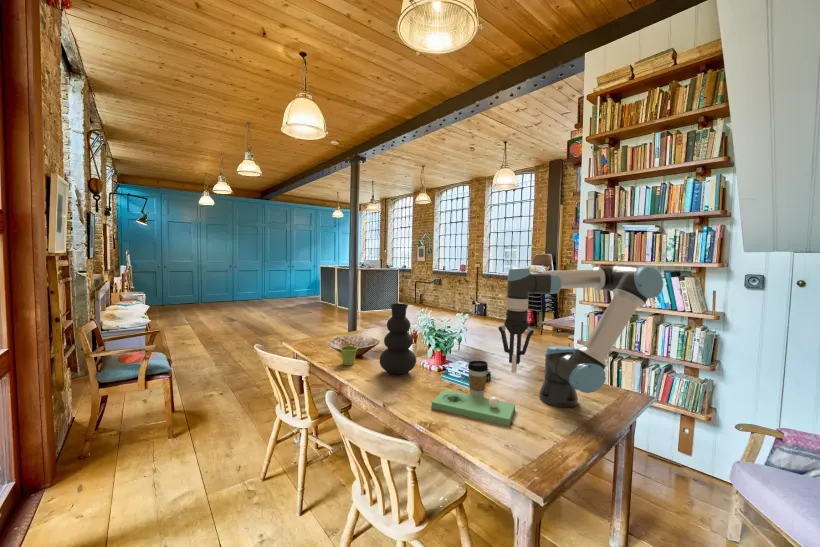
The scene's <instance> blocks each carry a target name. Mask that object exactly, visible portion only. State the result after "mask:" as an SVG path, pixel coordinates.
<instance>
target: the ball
mask: <svg viewBox="0 0 820 547" xmlns="http://www.w3.org/2000/svg"><path fill="white" fill-rule="evenodd" d="M488 399H489V405H490V406H491V407H492V408H497V407H498V406H499V401H500V400H499V398H498V397H495V396H491V397H490V398H488Z"/></svg>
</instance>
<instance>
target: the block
mask: <svg viewBox="0 0 820 547" xmlns="http://www.w3.org/2000/svg"><path fill="white" fill-rule="evenodd" d="M489 399H490V398H486V397H484V398H482V397H478V396H473V395H470V394H467V393H462V392H457V391H452V390H448V389H443V390H442V391H441V392H440V393H439V394H437V396H436V397H435V398H434V399H433V400H432V401H431V409H434V410H436V411H437V410H438V411H442V412H446V413H450V414H455V415H459V416H463V417H464V416H465V417H467V418H468V417H469V418H472V419H477V420H482V421H485V422H490V423H495V424H499V425H502V426H507V427H509V426H510V425H511V422H512V420H513V417H514V414H515V411H516V403H511V402H506V401H501V400H499V406H498V407H497V408H492V407H491V406H490V405H489Z"/></svg>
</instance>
